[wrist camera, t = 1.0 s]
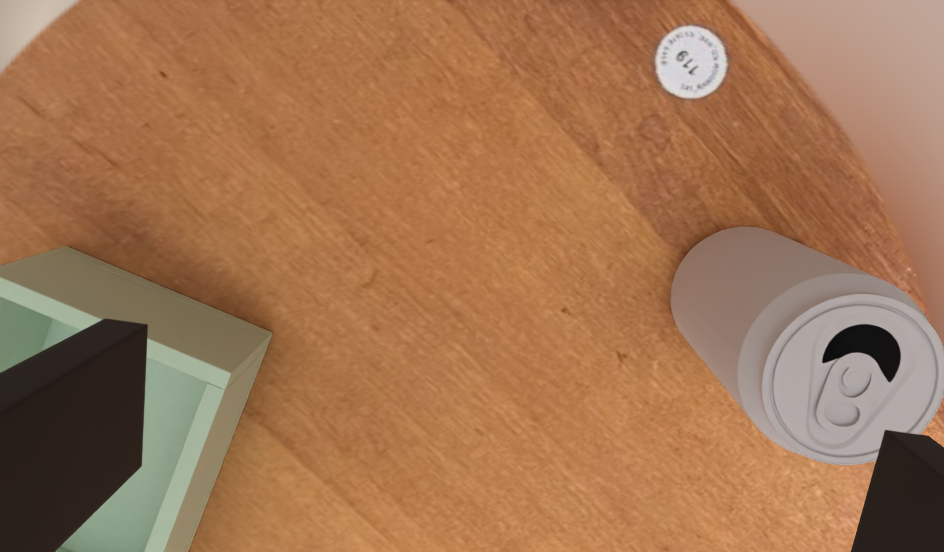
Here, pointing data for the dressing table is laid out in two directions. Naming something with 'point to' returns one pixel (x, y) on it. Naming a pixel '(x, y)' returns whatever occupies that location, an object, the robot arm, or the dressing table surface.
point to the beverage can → (808, 344)
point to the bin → (166, 388)
